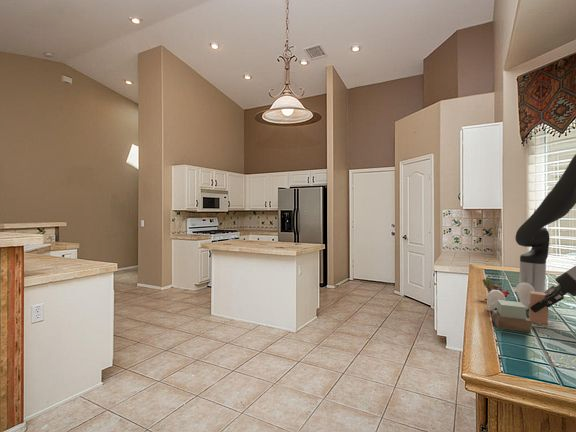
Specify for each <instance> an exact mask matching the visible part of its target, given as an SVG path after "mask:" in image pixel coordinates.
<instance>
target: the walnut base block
mask: <svg viewBox="0 0 576 432" xmlns="http://www.w3.org/2000/svg"><path fill="white" fill-rule="evenodd" d="M491 321H492V322H493V324H494V325H495V326H496V327H497V328H498V329H503V330H510V331H517V332H518V331H519V332H527V333H528V332H529V333H531V331H532V330H531V329H532V322H531V321H530V319H529V317H527V316H526V320H524V319H516V318H508V317H501V316H500V315H499V313H498V312H497V309H496V310H495V309H494V310H492V311H491Z"/></svg>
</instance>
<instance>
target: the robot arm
mask: <svg viewBox="0 0 576 432" xmlns="http://www.w3.org/2000/svg"><path fill="white" fill-rule="evenodd" d="M575 206H576V153H575V154H574V155H573V157H572V158H571V160H570V162H569V164H568V165H567V167H566V168H565V170H564V172H563V173H562V175H561V177H560V178H559V179H558V180H557V182H556V183H555V185H554V186H553V188H552V189H551V190H549V193H547V195H546V196H545V197H544V199H543V200H542V202H541V203H540V204H539V206H538V207H537V208H536V209H535V210H534V212H533V213H532V214H531V215H530V217H528V219H526V220H525V221H524V222H523V223H522V224H521V225H520V226H519V228H518V229H517V231H516V233H515V237H514V238H515V242H516V244H517V245H519V246H521V247H525V248H526V247H528V248H531V249H530V250H529V251H528V252H526V253H523V254H521V255H520V256H519V277H518V278H519V281H518V282H519V283H518V284H520V283H529V284H530V285H532V286H533V288H534V290H535V291H536V292H544V293H547V294H546V295H545V296H544V298H543V299H542V300H540V301H539V302H538V303H536V304H534V305H533V306H531V307H530V306H529V308H531V310H532V311H533V312H535V313H536V312H538V311H539V310H541V309H542V308H544V306H545V307H548V308H550V307H551V306H553V305H555V304H557V303H558V302H560V301H563V300H564V299H565V296H566V295H567V294H569V295H570V296H572V297H573V298H574V297H576V265H574V266H573V267H571V268H570V269H569V270H568V269H567V270H566V271H565V272H563V273H562V274H560V275H559V276H557V277H556V278H555V282H557V284H558V285H556V286H555V285H552V286H550V287H549V288H548V289H546V276H547V275H546V273H547V271H546V268H547V267H546V266H547V259H548V256H549V247H550V233H549V231H548V229H547V227H546V226H548V225H550V224H552V223H554V222H556V221H558V220H560V219H562V218H564V217H565V216H566V215H567V214H568V213H569V212H570V211H571V210H572V209H573V208H574V207H575ZM548 296H549V297H548ZM547 300H548V302H547Z"/></svg>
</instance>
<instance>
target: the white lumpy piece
mask: <svg viewBox="0 0 576 432" xmlns="http://www.w3.org/2000/svg"><path fill="white" fill-rule="evenodd" d="M486 299H487V300H486V306H487V308H486V310H487V311H489V312H492V310H495V309H497V300H505V301H507V297H506V298H505V296H504V294H503V293H502V292H501V291H499V290H492V291H490V292H489V291H488V293H487V294H486Z"/></svg>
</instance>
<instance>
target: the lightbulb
mask: <svg viewBox="0 0 576 432" xmlns="http://www.w3.org/2000/svg"><path fill="white" fill-rule="evenodd" d="M530 291H535V290H534V288H533V286H532V285H530V284H529V283H520V284H519V283H518V284H517V285H516V286H515V293H516V294H517V296H518V300H519V302H521V303H522V304H523V305H524V306H525V307H526V310H529V308H530Z"/></svg>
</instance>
